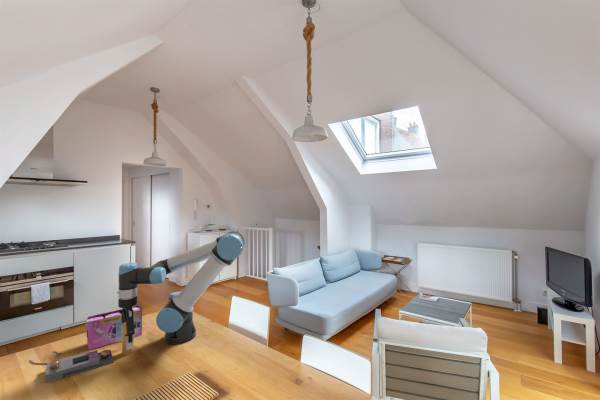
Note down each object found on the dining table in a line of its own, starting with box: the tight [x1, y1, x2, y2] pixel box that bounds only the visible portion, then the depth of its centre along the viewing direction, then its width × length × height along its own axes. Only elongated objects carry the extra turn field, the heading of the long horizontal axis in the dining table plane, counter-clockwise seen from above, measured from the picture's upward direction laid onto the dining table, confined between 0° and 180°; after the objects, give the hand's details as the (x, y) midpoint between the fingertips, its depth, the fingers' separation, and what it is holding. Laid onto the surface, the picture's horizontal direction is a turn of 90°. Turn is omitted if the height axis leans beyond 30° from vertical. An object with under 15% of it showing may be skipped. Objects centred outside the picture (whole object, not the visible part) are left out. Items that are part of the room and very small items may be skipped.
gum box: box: [84, 305, 143, 351], centre depth 143 cm, size 24×8×14 cm, turn 134°
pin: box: [121, 322, 133, 356], centre depth 130 cm, size 4×4×14 cm
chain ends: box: [44, 349, 114, 384], centre depth 120 cm, size 22×10×5 cm, turn 129°
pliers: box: [29, 350, 61, 366], centre depth 124 cm, size 10×1×20 cm
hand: (127, 343), depth 130 cm, fingers open, 13 cm apart
